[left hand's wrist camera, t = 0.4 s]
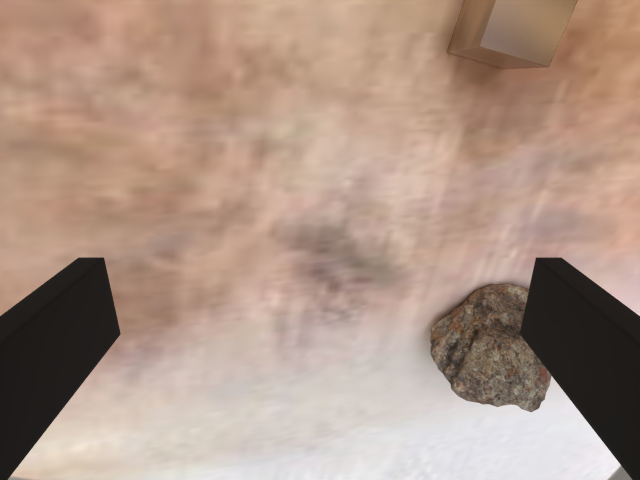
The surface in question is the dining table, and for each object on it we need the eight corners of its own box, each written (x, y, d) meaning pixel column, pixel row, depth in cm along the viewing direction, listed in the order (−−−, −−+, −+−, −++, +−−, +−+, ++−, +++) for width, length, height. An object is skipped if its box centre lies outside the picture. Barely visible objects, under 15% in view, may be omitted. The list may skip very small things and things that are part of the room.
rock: (525, 372, 46) (577, 302, 43) (574, 436, 38) (642, 356, 35) (414, 339, 43) (460, 260, 40) (442, 401, 35) (502, 310, 32)
